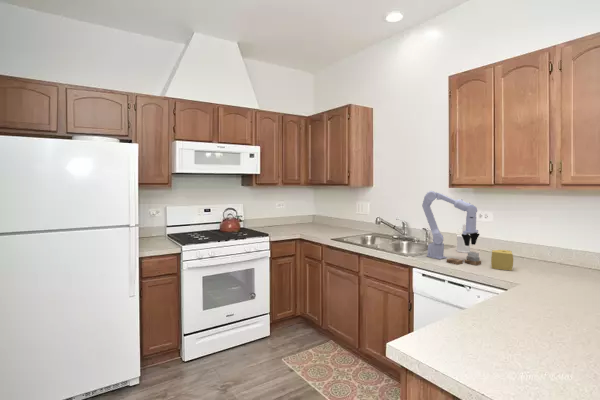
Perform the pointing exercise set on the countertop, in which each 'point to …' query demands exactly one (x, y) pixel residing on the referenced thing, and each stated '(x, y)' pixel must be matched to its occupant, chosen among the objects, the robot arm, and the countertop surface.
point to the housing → (473, 256)
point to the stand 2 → (472, 262)
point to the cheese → (502, 260)
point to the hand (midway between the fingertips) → (470, 245)
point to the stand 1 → (454, 261)
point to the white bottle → (462, 242)
